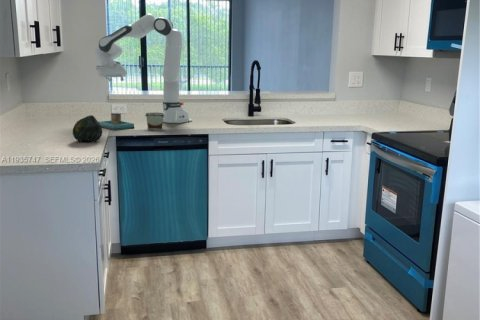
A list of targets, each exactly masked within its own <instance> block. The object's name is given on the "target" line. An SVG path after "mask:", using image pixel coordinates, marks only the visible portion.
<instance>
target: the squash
mask: <svg viewBox="0 0 480 320" xmlns="http://www.w3.org/2000/svg"><path fill="white" fill-rule="evenodd" d="M72 135H73V137H74V139H75V141H78V142H88V141H89V142H93V141H94V142H97V141H98V140H100V139H101V137H102V136H103V127H101V125H100V124H99V121H98V120H97V118H96V117H95V116H94V115H86V116H85V117H83V118H81V119H79V120H77V121H76V122H75V124H74V125H73V128H72Z"/></svg>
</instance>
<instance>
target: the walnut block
mask: <svg viewBox="0 0 480 320" xmlns="http://www.w3.org/2000/svg"><path fill="white" fill-rule="evenodd" d="M121 114H122V113H121V112H112V113H110V117H111V118H110V120H111V124H113V125H121V121H122V115H121Z"/></svg>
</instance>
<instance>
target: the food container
mask: <svg viewBox="0 0 480 320" xmlns="http://www.w3.org/2000/svg"><path fill="white" fill-rule="evenodd" d="M163 116H164V114H163V112H157V111H156V112H147V113H145V117H146V123H147V129H148V130H163V127H164V125H163V123H164V122H163Z"/></svg>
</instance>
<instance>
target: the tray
mask: <svg viewBox="0 0 480 320" xmlns="http://www.w3.org/2000/svg"><path fill="white" fill-rule="evenodd" d="M98 122H99V124H100V125H101V127H102V128H104V127H105V129H108V128H109V129H110V130H114V131H118V130H119V131H121V130H127V129H128V130H129V129H134V128H135V123H134V122H129V121H123V120H121V125H113V124H111V119H110V120H102V121H101V120H100V121H98Z"/></svg>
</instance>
